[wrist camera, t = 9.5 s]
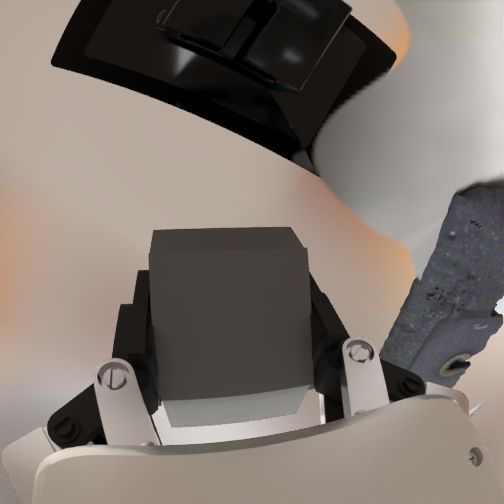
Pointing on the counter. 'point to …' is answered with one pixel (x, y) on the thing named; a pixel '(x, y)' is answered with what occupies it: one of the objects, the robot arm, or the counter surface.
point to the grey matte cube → (230, 323)
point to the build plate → (232, 61)
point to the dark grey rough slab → (454, 293)
